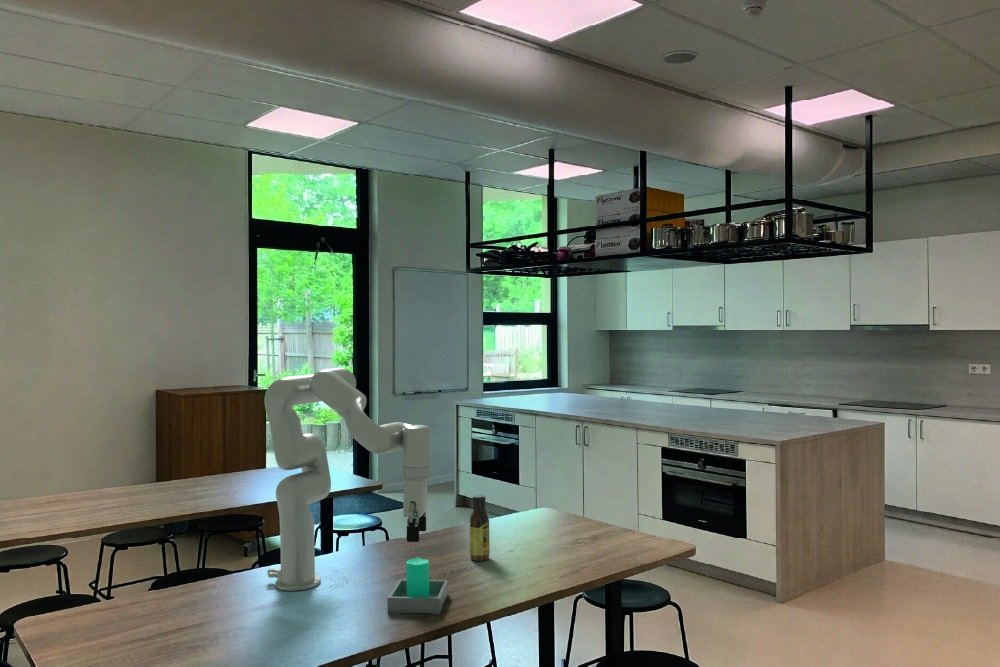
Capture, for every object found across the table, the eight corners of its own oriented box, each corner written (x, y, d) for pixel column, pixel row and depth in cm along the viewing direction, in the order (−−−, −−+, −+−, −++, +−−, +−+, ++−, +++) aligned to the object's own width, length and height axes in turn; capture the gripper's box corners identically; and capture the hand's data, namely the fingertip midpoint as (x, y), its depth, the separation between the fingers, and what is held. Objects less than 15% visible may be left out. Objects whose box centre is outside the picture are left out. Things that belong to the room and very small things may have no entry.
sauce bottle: (487, 562, 228) (486, 498, 228) (467, 561, 230) (466, 498, 230) (491, 556, 235) (490, 494, 235) (472, 555, 236) (471, 493, 236)
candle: (420, 606, 191) (419, 560, 191) (402, 602, 194) (401, 557, 194) (434, 599, 196) (433, 554, 196) (416, 595, 199) (415, 551, 199)
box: (387, 613, 189) (387, 597, 189) (399, 594, 202) (399, 579, 202) (439, 614, 188) (439, 598, 188) (448, 594, 201) (447, 580, 201)
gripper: (409, 465, 204) (409, 526, 204) (395, 478, 186) (395, 545, 187) (436, 466, 203) (436, 527, 203) (424, 479, 186) (424, 546, 186)
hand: (416, 536), depth 195 cm, fingers open, 9 cm apart
